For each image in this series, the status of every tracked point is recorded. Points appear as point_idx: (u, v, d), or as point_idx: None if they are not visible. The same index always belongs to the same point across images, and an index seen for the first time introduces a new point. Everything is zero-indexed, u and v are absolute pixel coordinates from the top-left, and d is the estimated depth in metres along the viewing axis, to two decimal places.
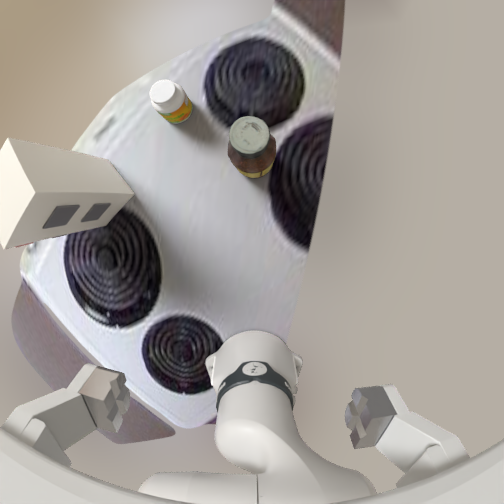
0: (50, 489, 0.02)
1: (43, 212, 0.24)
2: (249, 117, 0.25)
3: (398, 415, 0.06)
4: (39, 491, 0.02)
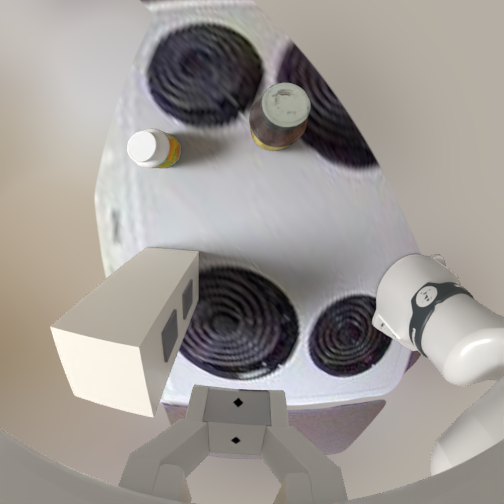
0: (50, 489, 0.02)
1: (157, 351, 0.23)
2: (270, 89, 0.19)
3: (271, 427, 0.06)
4: (39, 491, 0.02)
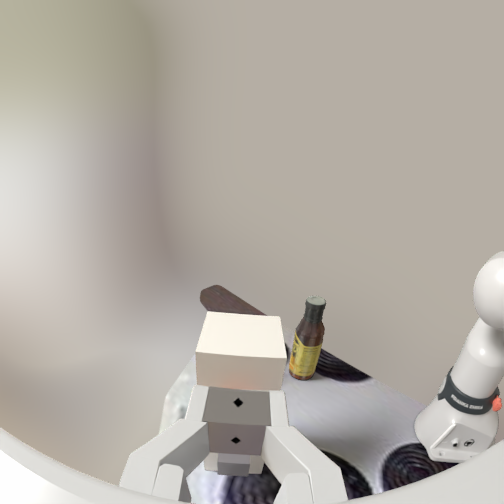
0: (50, 489, 0.02)
1: None
2: (308, 297, 0.55)
3: (271, 427, 0.06)
4: (39, 491, 0.02)
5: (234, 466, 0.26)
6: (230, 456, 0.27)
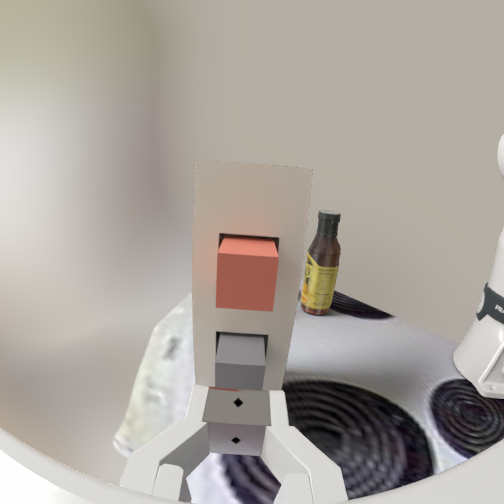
0: (50, 489, 0.02)
1: None
2: (321, 210, 0.49)
3: (271, 427, 0.06)
4: (39, 491, 0.02)
5: (241, 373, 0.21)
6: (235, 356, 0.21)
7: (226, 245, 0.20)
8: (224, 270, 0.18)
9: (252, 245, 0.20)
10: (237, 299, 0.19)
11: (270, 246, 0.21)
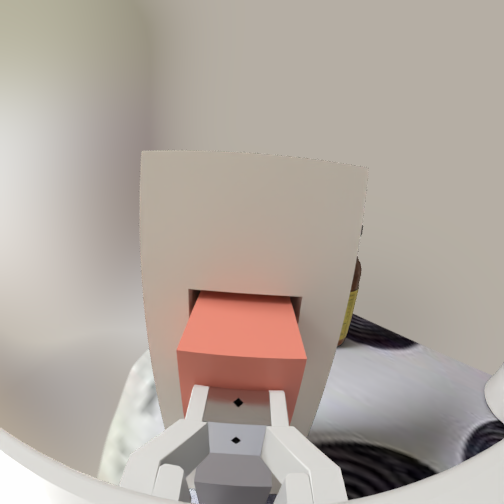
0: (50, 489, 0.02)
1: None
2: None
3: (271, 427, 0.06)
4: (39, 491, 0.02)
5: (234, 491, 0.10)
6: (226, 470, 0.11)
7: (199, 320, 0.10)
8: (193, 380, 0.08)
9: (251, 317, 0.10)
10: None
11: (285, 317, 0.10)
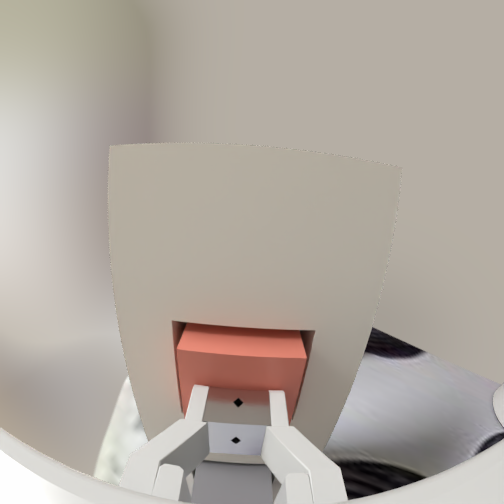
0: (50, 489, 0.02)
1: None
2: None
3: (271, 427, 0.06)
4: (39, 491, 0.02)
5: None
6: None
7: None
8: (193, 379, 0.08)
9: None
10: None
11: None
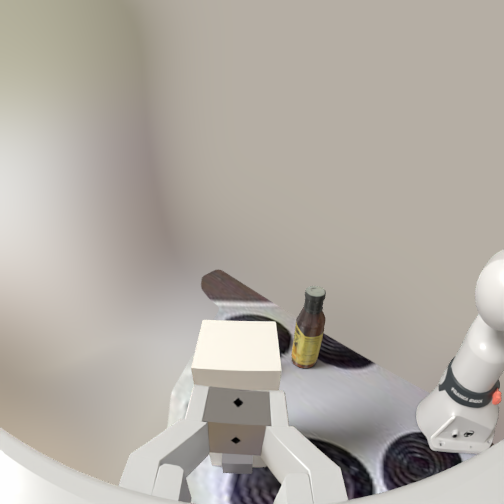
0: (50, 489, 0.02)
1: None
2: (308, 287, 0.54)
3: (271, 427, 0.06)
4: (39, 491, 0.02)
5: (238, 466, 0.28)
6: (234, 457, 0.28)
7: None
8: None
9: None
10: None
11: None
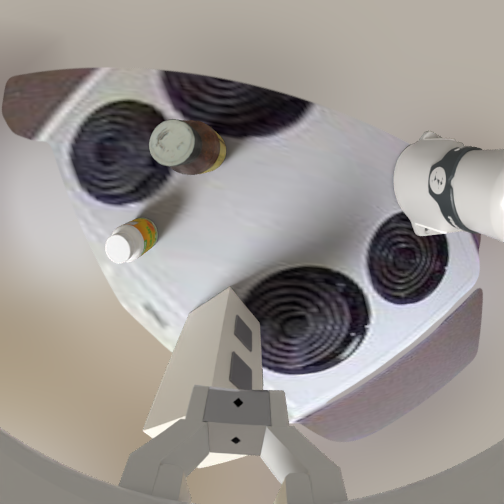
0: (50, 489, 0.02)
1: None
2: (150, 142, 0.20)
3: (271, 427, 0.06)
4: (39, 491, 0.02)
5: None
6: None
7: None
8: None
9: None
10: None
11: None
